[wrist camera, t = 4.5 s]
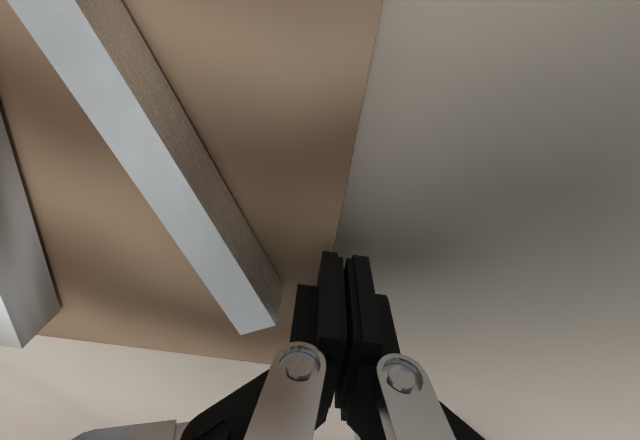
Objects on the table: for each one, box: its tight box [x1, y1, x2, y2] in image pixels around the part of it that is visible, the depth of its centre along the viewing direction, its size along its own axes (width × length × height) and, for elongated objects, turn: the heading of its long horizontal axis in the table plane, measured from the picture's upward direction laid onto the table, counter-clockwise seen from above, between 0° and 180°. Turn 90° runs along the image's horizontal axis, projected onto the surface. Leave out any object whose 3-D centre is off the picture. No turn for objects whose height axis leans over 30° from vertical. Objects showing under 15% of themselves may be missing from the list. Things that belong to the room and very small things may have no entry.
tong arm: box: [7, 0, 283, 335], centre depth 9 cm, size 17×3×2 cm, turn 22°
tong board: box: [0, 0, 382, 364], centre depth 10 cm, size 22×14×4 cm, turn 172°
